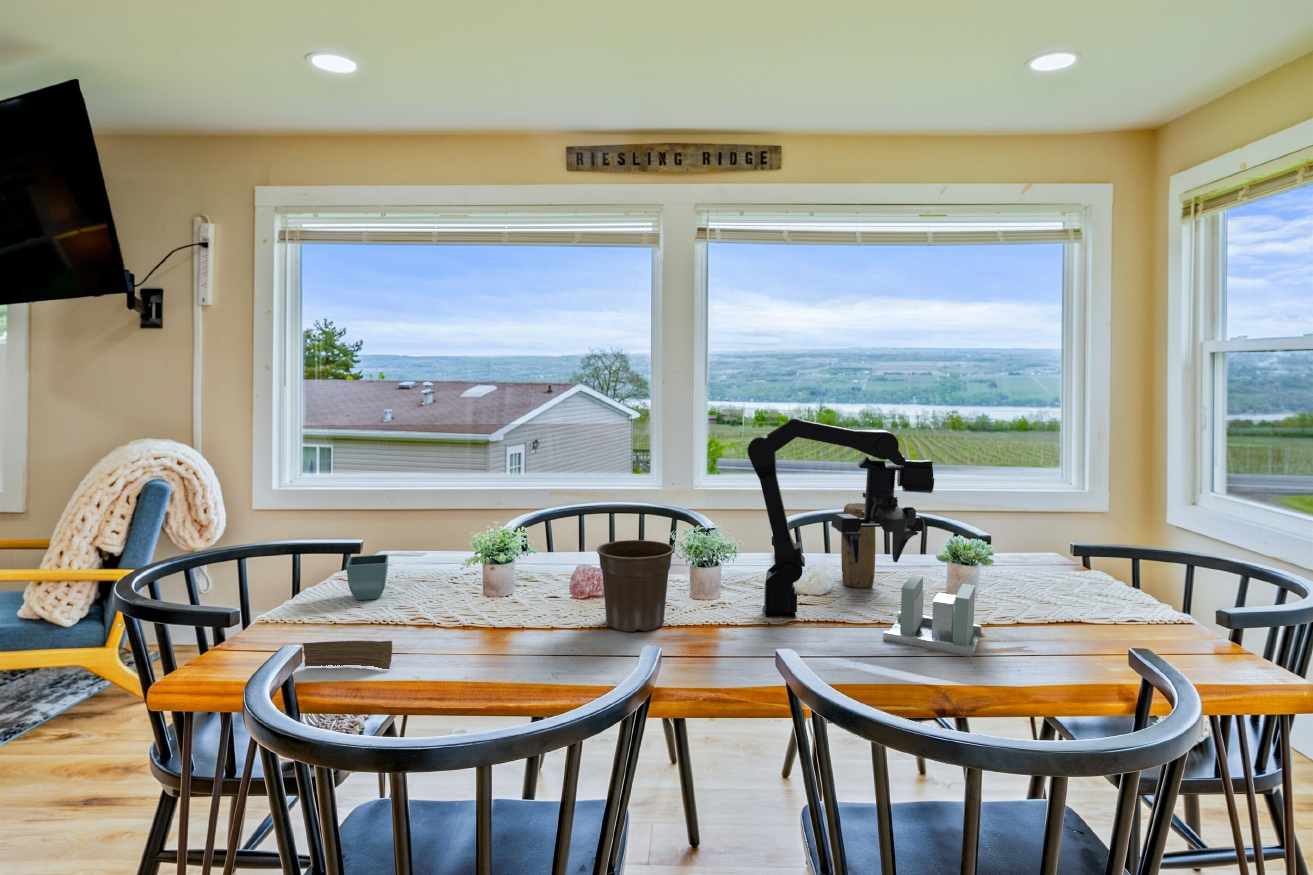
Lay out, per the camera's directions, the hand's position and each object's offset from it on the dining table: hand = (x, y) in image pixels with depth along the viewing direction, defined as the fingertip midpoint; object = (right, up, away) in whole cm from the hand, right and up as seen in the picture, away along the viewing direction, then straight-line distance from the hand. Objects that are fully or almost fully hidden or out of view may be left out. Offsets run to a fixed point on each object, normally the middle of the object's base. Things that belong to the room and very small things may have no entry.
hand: (875, 562), depth 152 cm
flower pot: (-114, -11, +16) cm, 116 cm away
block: (+4, -10, +28) cm, 30 cm away
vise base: (+8, -14, -11) cm, 19 cm away
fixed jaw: (+13, -13, -14) cm, 23 cm away
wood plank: (-102, -15, -25) cm, 106 cm away
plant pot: (-51, -13, -1) cm, 53 cm away
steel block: (+10, -13, -12) cm, 20 cm away
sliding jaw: (+4, -12, -9) cm, 16 cm away
